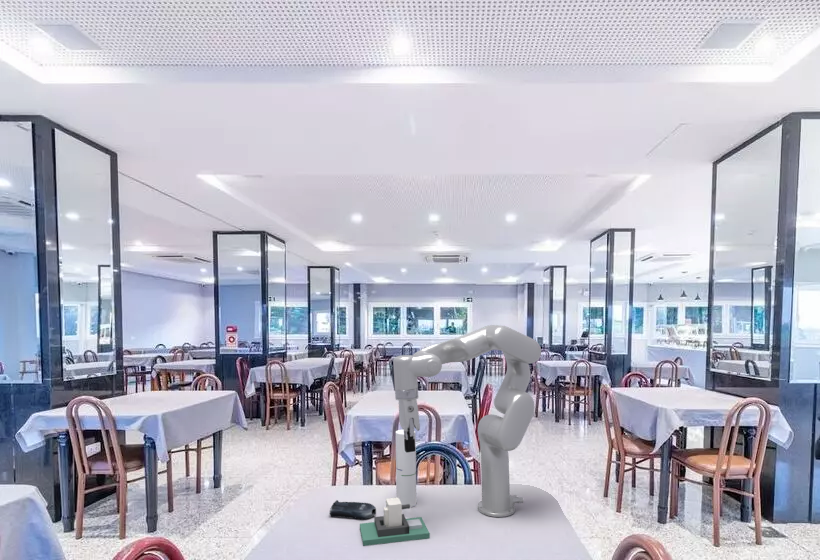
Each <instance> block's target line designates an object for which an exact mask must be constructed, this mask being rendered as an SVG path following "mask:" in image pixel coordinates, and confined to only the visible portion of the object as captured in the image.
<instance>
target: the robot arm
mask: <svg viewBox="0 0 820 560" xmlns="http://www.w3.org/2000/svg"><path fill="white" fill-rule="evenodd" d="M491 351H501V352H502V355H503V356H504V359H505V362H506V372H505V375H504V377H503V379H502V381H501V384H500V386H499V389H498V390H497V392H496V395H495V397H494V400H493V405H494V409H495V410H497V412H499V413H500V414H502V415H504V416H503V417H501V416H499V415H496V414H491V413H490V414H486V415H484V416H482V417H481V418H480V420H479V422H478V424H477V437H478V441H479V447H480V470H481V471H480V472H481V474H480V475H481V480H480V481H481V500H480V501H479V502H477V510H478V511H479V512H480V513H481V514H483V515H485V516H489V517H494V518H504V517H505V518H506V517H508V516H512V515H513V514H514V513H515V512H516V511H515V510H516V506H515V505H516V504H521V503H524V502H525V501H524V497H523V496H517V495H516V494H512V495H511V491H510V490H511V489H510V488H511V487H510V457H509V456H510V455H509V452H511V451H513V450H516V449H517V448H518V447H519V446H520V444H521V442H522V441H523V439H524V436H525V434H526V432H527V430H528V427H529V425H530V423H531V420H532V419H533V416H534V413H535V401H534V399H533V397H532V395H530V394H529V393H528V392H526V391H527V388H528V387H529V384H530V381H531V368H530V365H531V364H534V363H536V362H538V361H539V359H540V358H541V356H542V348H541V346H540V343H538V341H537V340H535V339H534V338H532V337H530V336H528V335H526V334H525V333H524V334H523V333H521V332H519V331H517V330H515V329H513V328H511V327H508V326H505V325H497V324H496V325H495V324H489V325H487V326H484V327H480V328H478V329H475V330H473V331H471V332H468V333H466V334H463V335H461V336H458V337H455V338H452V339H451V338H450V339H449V340H446V341H443V342H440V343H436V344H433V345H430V346H426V347H425V348H423V349H420V350H418V351H416V352H415V353H413V354H412V355H410V354H404V355H403V354H401V355H398V356H395V357H394V358H393V376H394V395H395V398H394V399H395V401H398V418H399V419H398V420H399V425H400V427H401V428H402V429H403V430H404V438H405V439H404V446H405V451H406V452H414V451H415V435H414V431H417V432H419V431H420V430H421V423H420V416H419V405H418V401H417V400H418V399H419V385H418V384H419V383H418V377H420V378H421V377H423V378H424V377H425V378H430V377H436V376H437V375H438V374H440V372H441V370H442V367H443V365H444V364H450V363H462V362H467V361H470V360H473V359H475V358H477V357H479V356H481V355H484V354H486V353H488V352H491ZM529 364H530V365H529ZM415 429H416V430H415Z"/></svg>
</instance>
